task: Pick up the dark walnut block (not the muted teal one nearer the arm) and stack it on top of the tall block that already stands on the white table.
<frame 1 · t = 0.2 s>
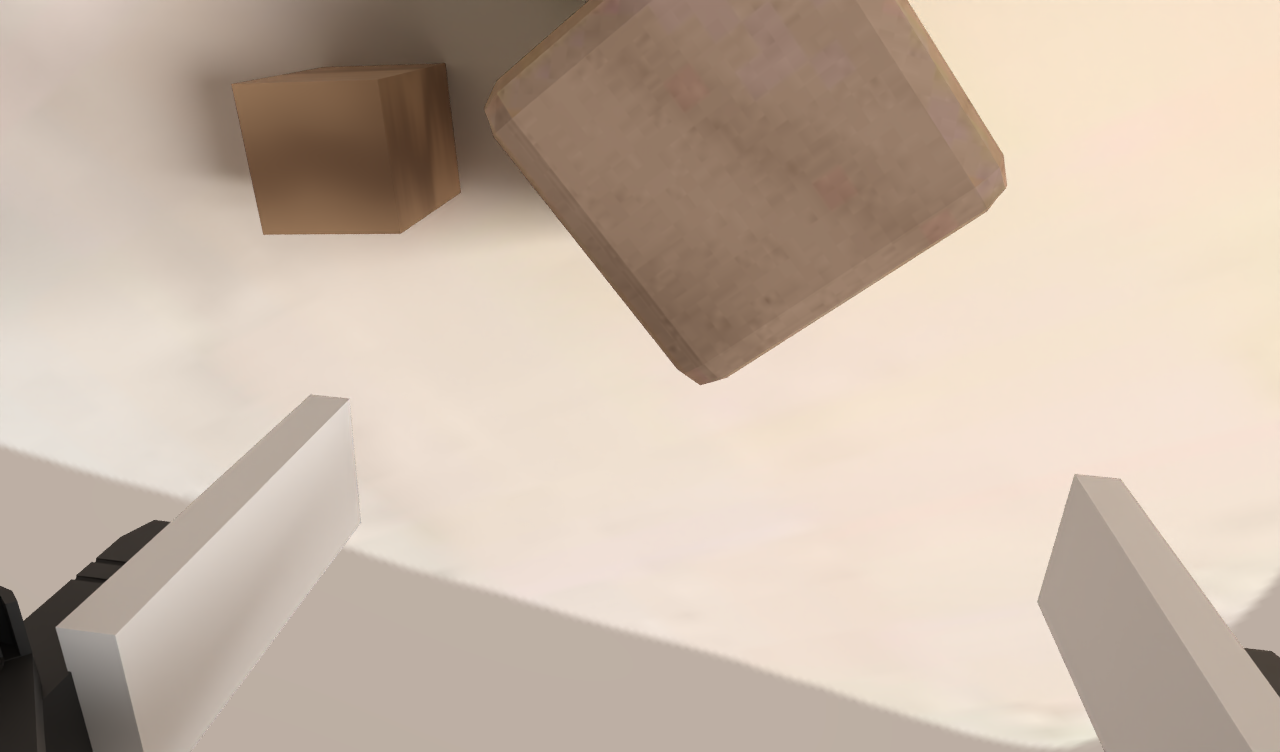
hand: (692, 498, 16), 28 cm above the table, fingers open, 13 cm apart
block: (749, 76, 40), on the table
walnut block: (393, 130, 43), on the table
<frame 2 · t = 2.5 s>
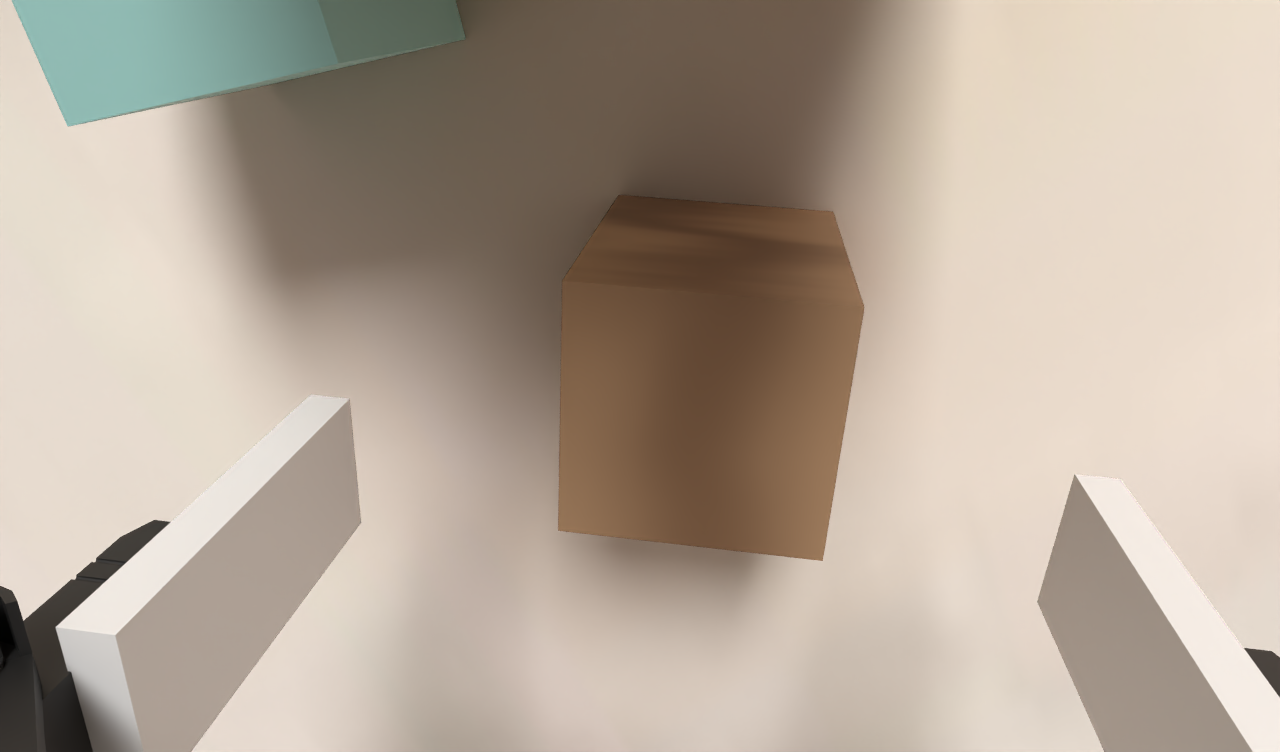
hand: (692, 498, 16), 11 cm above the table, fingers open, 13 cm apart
walnut block: (715, 303, 26), on the table
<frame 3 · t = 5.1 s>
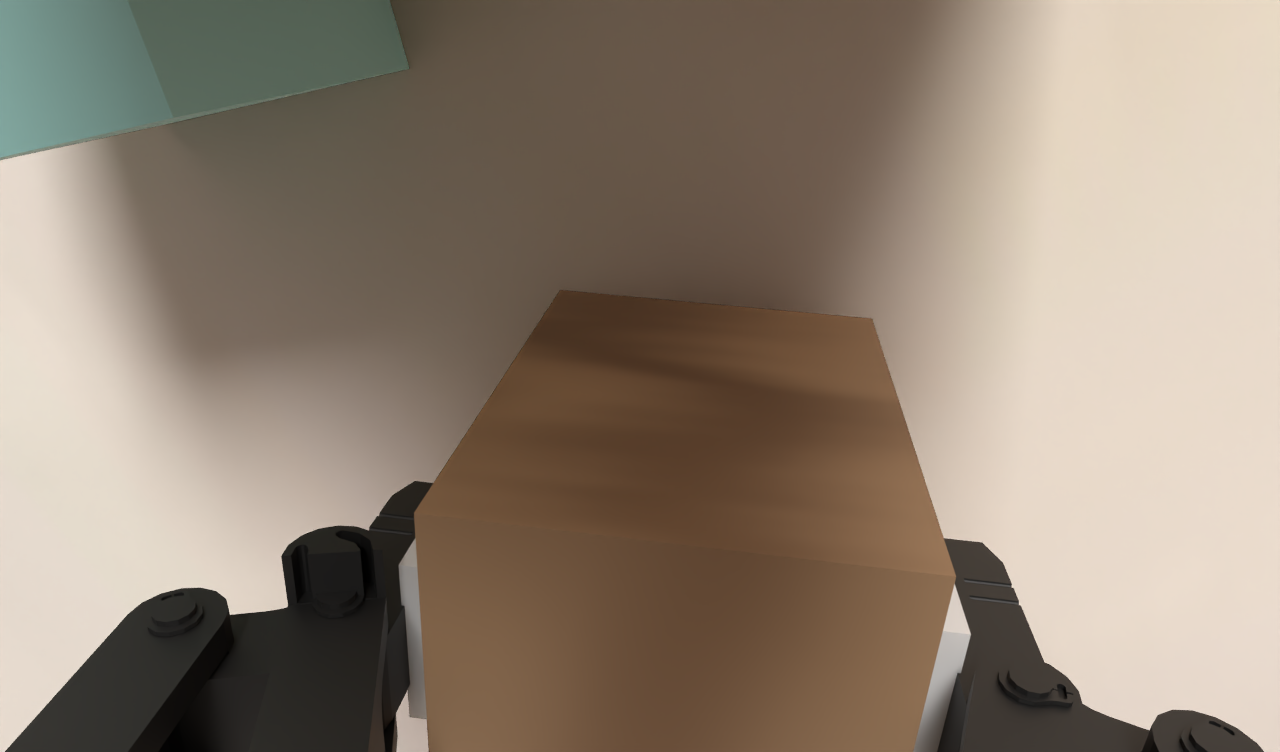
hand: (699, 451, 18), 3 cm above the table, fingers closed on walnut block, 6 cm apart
walnut block: (700, 441, 18), point 2 cm above the table, touching gripper
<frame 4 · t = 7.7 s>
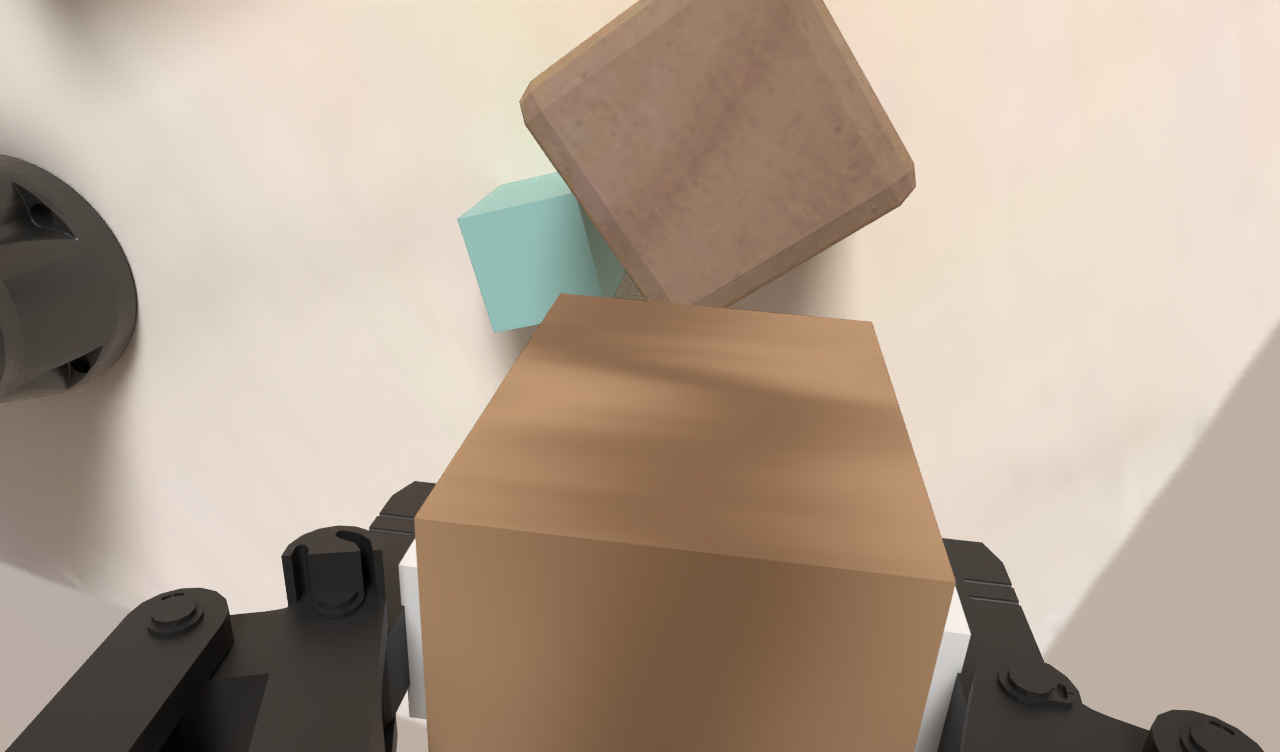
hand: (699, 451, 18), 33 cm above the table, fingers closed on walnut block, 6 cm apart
block: (732, 83, 46), on the table
walnut block: (700, 444, 18), point 33 cm above the table, touching gripper
teal block: (565, 225, 50), on the table
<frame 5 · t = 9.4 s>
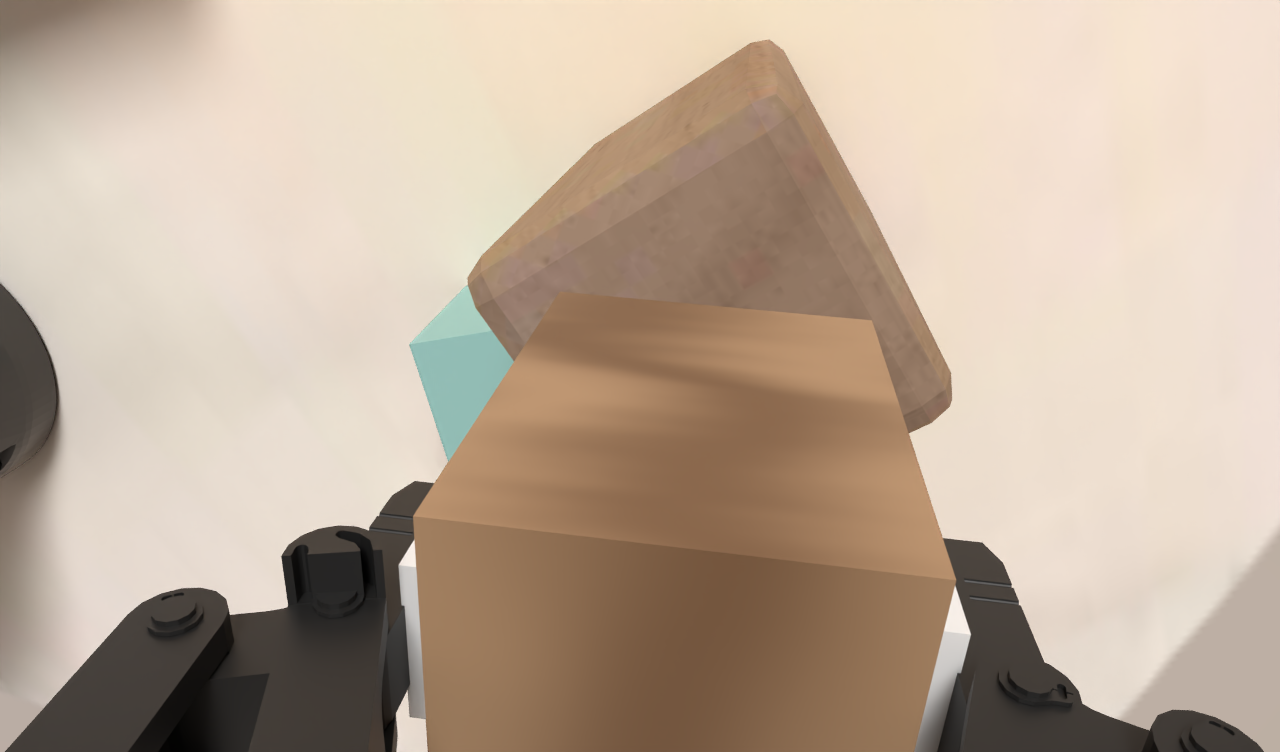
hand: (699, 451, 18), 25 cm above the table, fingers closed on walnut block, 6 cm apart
block: (729, 187, 41), on the table
walnut block: (700, 443, 18), point 25 cm above the table, touching gripper
teal block: (537, 331, 45), on the table
when the fingers open (22 cm above the table, at t = 10.4 s): walnut block drops 2 cm, resting on block.
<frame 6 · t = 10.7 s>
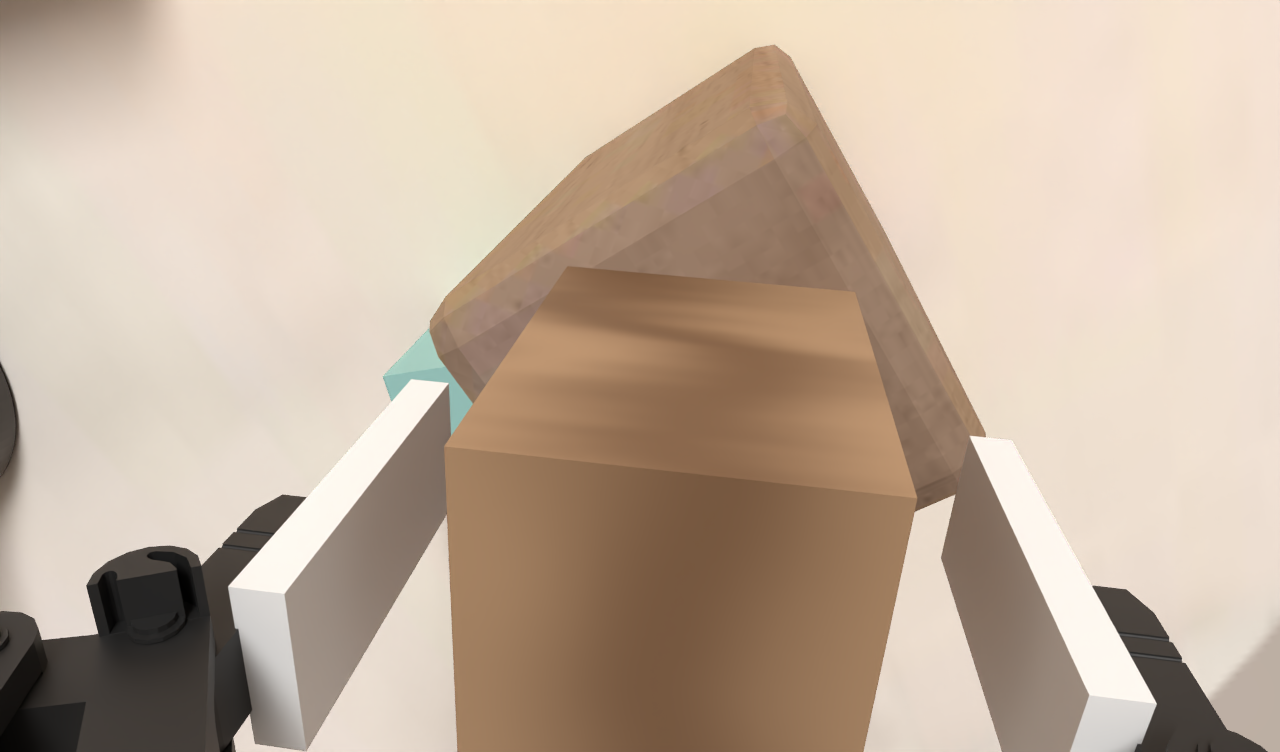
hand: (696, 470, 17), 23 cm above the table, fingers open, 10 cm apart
block: (731, 204, 38), on the table, touching walnut block
walnut block: (697, 407, 20), point 20 cm above the table, touching block
teal block: (525, 356, 42), on the table
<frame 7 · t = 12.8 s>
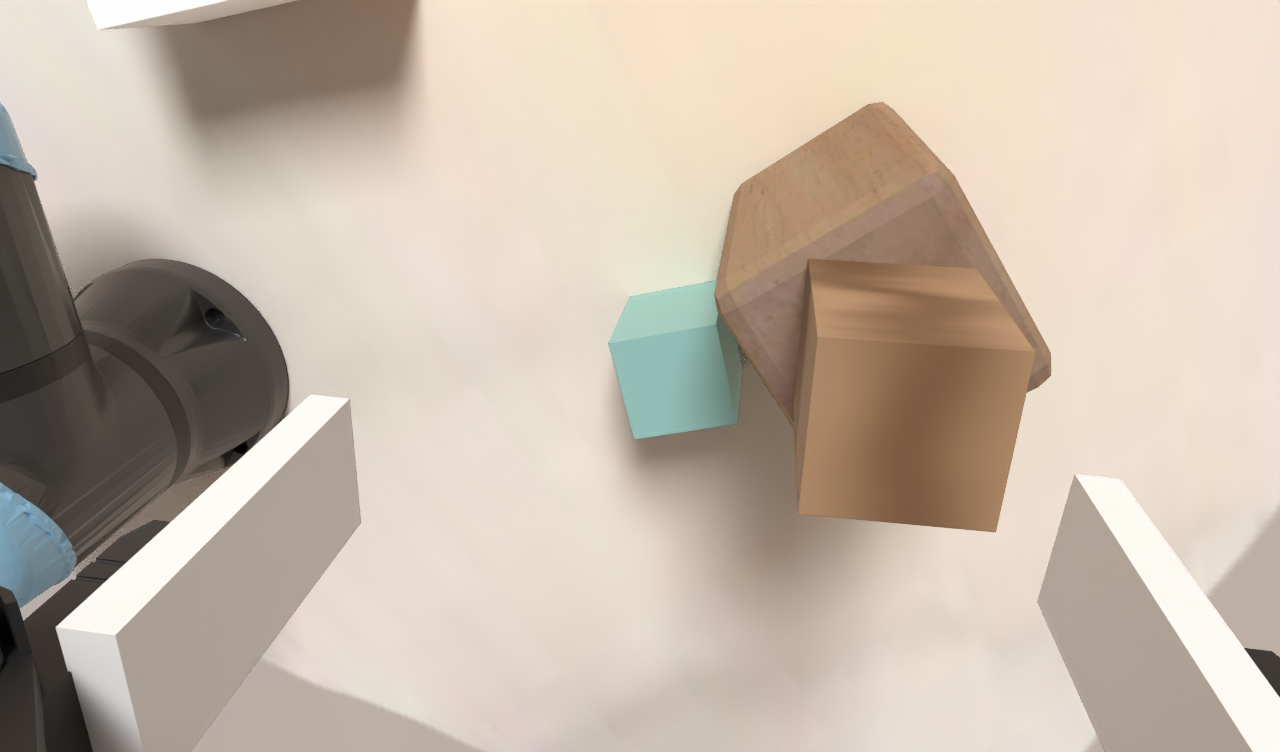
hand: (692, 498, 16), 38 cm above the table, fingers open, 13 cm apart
block: (845, 214, 52), on the table, touching walnut block
walnut block: (880, 339, 34), point 20 cm above the table, touching block
teal block: (686, 332, 56), on the table
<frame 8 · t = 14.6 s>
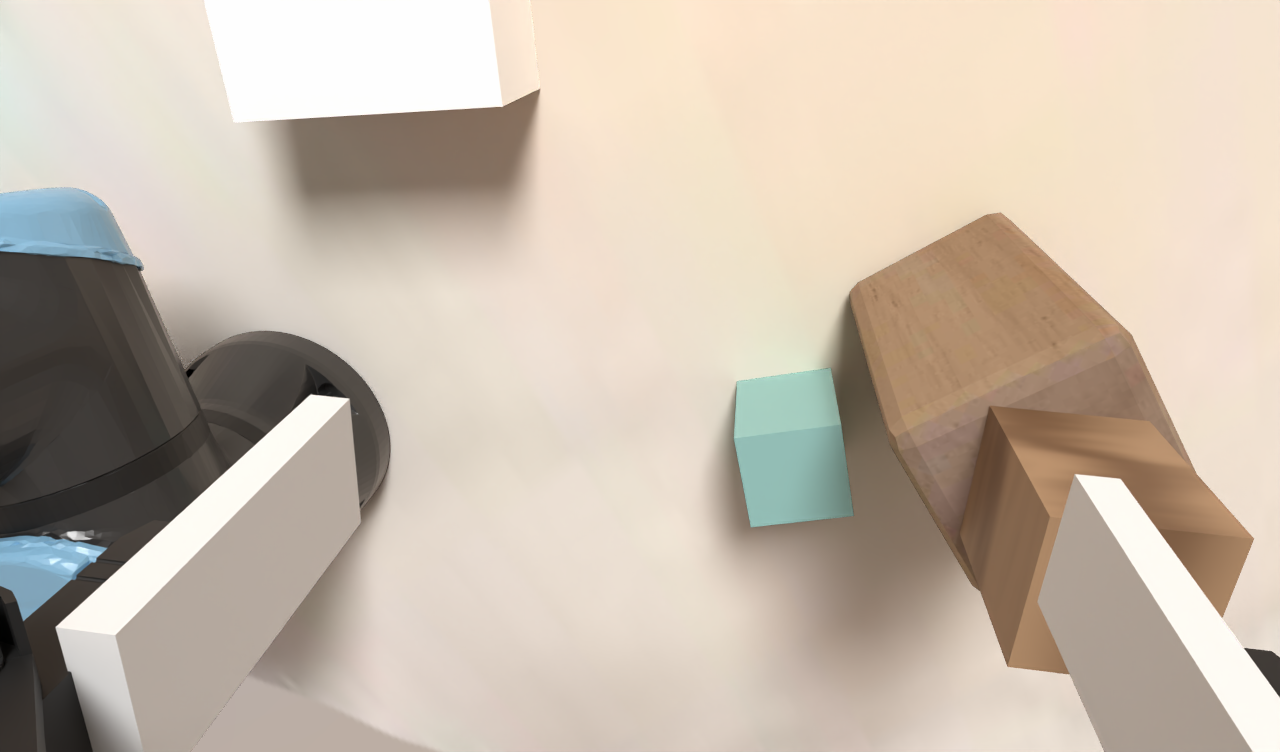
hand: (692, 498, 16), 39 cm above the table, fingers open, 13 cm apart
block: (953, 312, 54), on the table, touching walnut block
walnut block: (1050, 479, 36), point 20 cm above the table, touching block
teal block: (790, 415, 58), on the table
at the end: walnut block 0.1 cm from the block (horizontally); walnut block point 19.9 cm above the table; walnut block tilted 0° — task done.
